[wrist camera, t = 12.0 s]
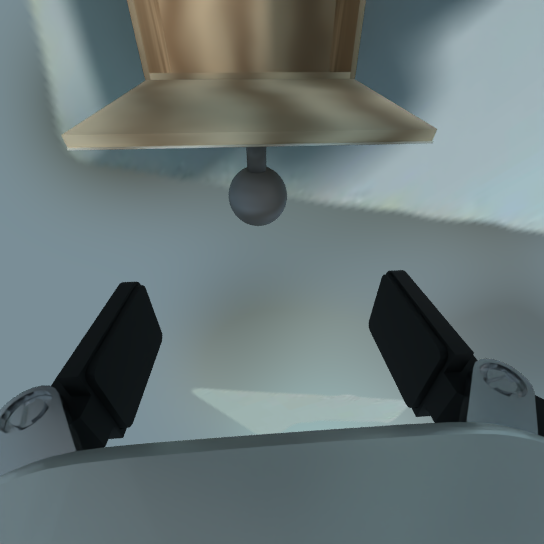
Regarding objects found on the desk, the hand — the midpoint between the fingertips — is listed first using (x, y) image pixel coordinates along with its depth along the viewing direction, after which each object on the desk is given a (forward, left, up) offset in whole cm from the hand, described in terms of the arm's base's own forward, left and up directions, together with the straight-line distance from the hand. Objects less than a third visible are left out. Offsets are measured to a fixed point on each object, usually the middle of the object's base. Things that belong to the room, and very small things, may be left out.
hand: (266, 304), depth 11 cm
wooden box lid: (0, -7, -15) cm, 16 cm away
